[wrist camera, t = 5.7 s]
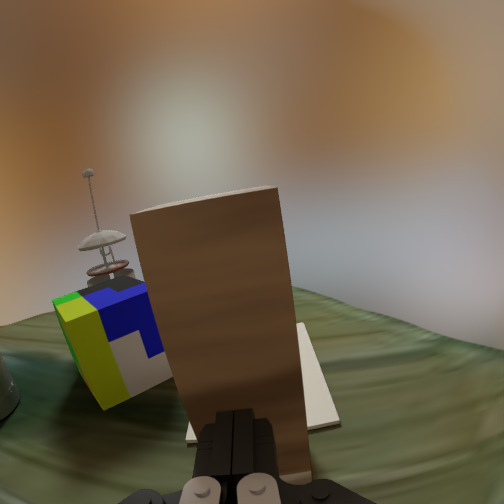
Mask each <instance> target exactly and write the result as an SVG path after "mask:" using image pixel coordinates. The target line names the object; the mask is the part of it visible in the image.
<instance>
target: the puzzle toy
mask: <svg viewBox="0 0 504 504" xmlns="http://www.w3.org/2000/svg"><path fill="white" fill-rule="evenodd" d="M52 302H53V305H54V308H55V311H56V314H57V317H58V320H59V323H60V325H61V328H62V331H63V334H64V336H65V339H66V341H67V344H68V346H69V349H70V351H71V354H72V356H73V359H74V361H75V363H76V366H77V368H78V370H79V373H80V374H81V376H82V378H83V379H84V381H85V383H86V384H87V386H88V388H89V389H90V391H91V392H92V394H93V395H94V397H95V398H96V400H97V402H98V403H99V405H100V406H101V408H102V409H103V411H104V410H106V409H108V408H111V407H113V406H115V405H117V404H119V403H121V402H123V401H125V400H127V399H129V398H131V397H133V396H135V395H138V394H140V393H142V392H144V391H146V390H148V389H150V388H152V387H154V386H155V385H157V384H159V383H161V382H163V381H165V380H167V379H169V378H171V377H173V375H172V372H171V369H170V366H169V363H168V360H167V357H166V354H165V351H164V347H163V344H162V341H161V338H160V334H159V331H158V328H157V324H156V321H155V318H154V314H153V311H152V307H151V303H150V300H149V296H148V292H147V289H146V285H145V282H143V281H140V280H137V279H135V278H132V277H129V276H126V275H122V276H119V277H116V278H114V279H111V280H108V281H105V282H102V283H99V284H96V285H93V286H90V287H88V288H85V289H82V290H79V291H77V292H73V293H70V294H68V295H65V296H62V297H60V298H56V299H54V300H52Z"/></svg>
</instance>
